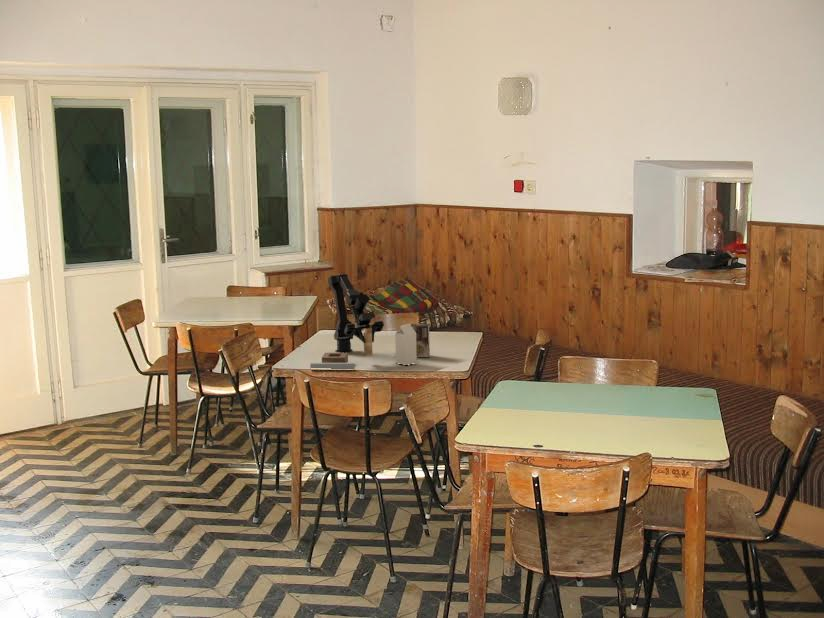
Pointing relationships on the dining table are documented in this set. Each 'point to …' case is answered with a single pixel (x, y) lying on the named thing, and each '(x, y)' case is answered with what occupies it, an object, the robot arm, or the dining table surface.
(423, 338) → the coffee box
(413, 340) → the milk carton
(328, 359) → the socket block
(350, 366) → the stop rail
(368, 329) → the dowel
